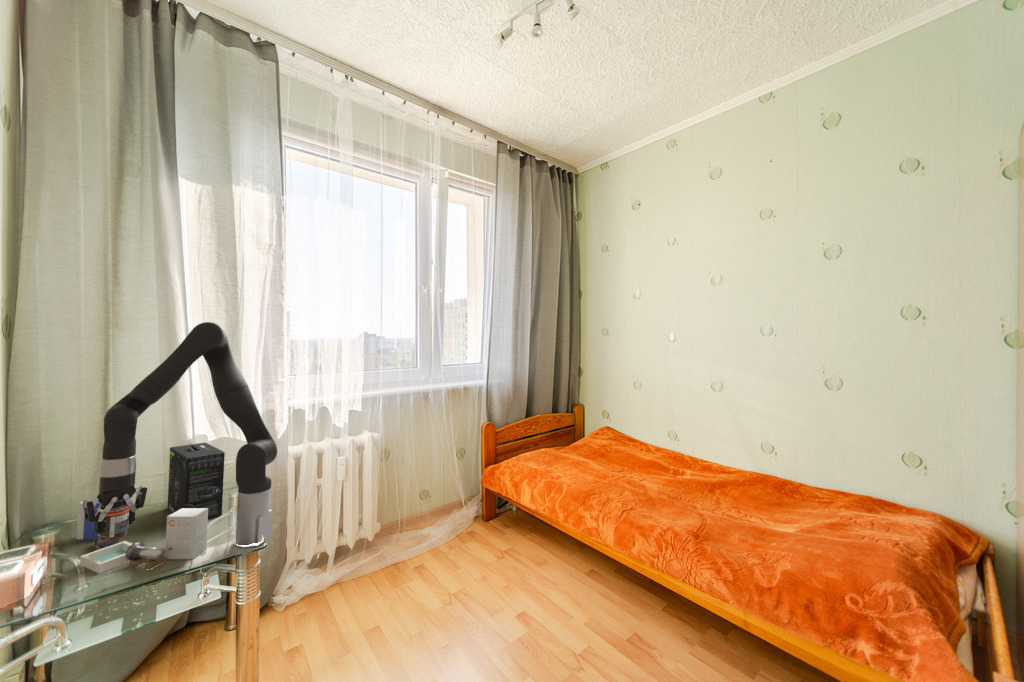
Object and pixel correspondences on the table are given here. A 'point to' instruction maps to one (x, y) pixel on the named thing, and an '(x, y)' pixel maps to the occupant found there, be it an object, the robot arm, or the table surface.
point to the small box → (186, 533)
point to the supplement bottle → (116, 521)
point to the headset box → (196, 478)
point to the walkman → (86, 524)
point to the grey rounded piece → (145, 555)
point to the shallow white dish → (106, 557)
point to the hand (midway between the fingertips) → (114, 528)
